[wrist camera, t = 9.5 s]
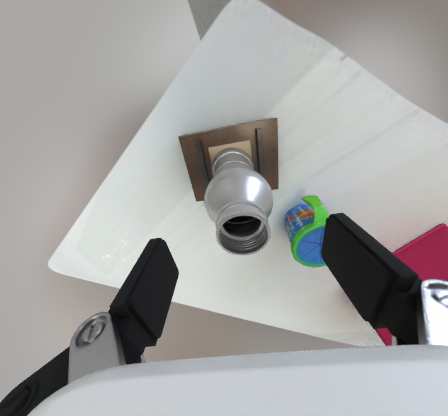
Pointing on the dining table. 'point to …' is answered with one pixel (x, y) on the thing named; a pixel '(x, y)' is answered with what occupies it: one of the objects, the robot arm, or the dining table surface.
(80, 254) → the dining table surface
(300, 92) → the dining table surface
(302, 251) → the snack cup
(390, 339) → the storage bin
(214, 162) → the silver metal bottle
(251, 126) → the brown wooden base
